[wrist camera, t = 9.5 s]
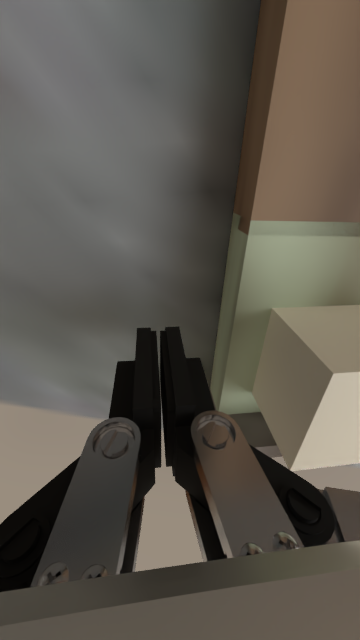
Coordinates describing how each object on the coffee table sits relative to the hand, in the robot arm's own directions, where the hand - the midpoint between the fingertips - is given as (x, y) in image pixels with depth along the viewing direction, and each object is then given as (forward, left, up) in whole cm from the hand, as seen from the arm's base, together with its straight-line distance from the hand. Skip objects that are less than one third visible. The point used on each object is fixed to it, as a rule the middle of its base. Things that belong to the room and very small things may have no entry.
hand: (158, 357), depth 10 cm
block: (+7, -1, -1) cm, 7 cm away
